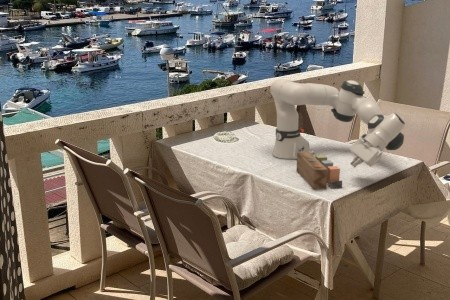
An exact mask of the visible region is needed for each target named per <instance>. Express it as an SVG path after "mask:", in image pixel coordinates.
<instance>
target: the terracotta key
mask: <svg viewBox="0 0 450 300" xmlns="http://www.w3.org/2000/svg"><path fill="white" fill-rule="evenodd" d="M327 169H328V170H327V185H329V186H330V181H340V175H341V168H340V167H338V166H337V165H333V166H328V167H327Z"/></svg>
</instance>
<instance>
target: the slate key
mask: <svg viewBox="0 0 450 300" xmlns="http://www.w3.org/2000/svg"><path fill="white" fill-rule="evenodd" d="M321 164H322V165H323V166H325V167H326V168H327V167H328V166H334V162H333V160H331V159H330V160H329V159H327V160H326V161H321Z"/></svg>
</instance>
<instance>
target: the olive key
mask: <svg viewBox="0 0 450 300" xmlns="http://www.w3.org/2000/svg"><path fill="white" fill-rule="evenodd" d="M314 157H315V158H316V159H317V160H318V161H319V162H320V163H321V161H326V160H328V157H327V156H326V155H325V154H317V155H315V156H314Z"/></svg>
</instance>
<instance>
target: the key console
mask: <svg viewBox="0 0 450 300" xmlns="http://www.w3.org/2000/svg"><path fill="white" fill-rule="evenodd" d="M327 170H328V169H327V168H326V167H325V166H323V165H322V164H321V163H320V162H319V161H318V160H317V159H316V158H315V156H314V155H313V154H311V153H310V152H300V153H297V159H296V170H295V171H296V172H297V173H298V174H299V175H300V176H301V177H302V178H303V179H304V181H306V183H307V185H309V186H310V188H312V189H313V190H326V189H327V187H328V186H327V185H328V183H327ZM342 187H343V180H340V179H339V181H330V185H329V189H342Z"/></svg>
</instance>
